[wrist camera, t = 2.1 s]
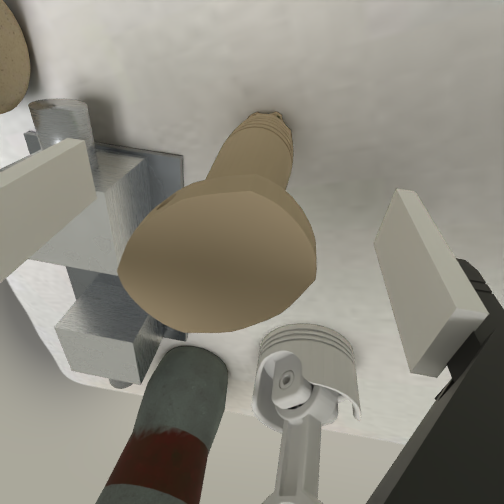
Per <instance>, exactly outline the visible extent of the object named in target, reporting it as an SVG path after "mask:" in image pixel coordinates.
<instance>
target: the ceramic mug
mask: <svg viewBox="0 0 504 504" xmlns="http://www.w3.org/2000/svg"><path fill="white" fill-rule="evenodd" d="M29 79H30V60H29V53H28V48H27V44H26V41H25V39H24V36H23V33H22V30H21V28H20V26H19V24H18V23H17V21H16V19H15V17H14V15H13V13H12V12H11V11H10V9H9V8H8V6H7V5H6V4H5V2H4V1H3V0H0V114H3V113H6V112H8V111H11V110H12V109H14V108H15V107H17V105H18V104H19V103H20V102H21V101H22V99H23V98H24V96H25V94H26V91H27V89H28V85H29Z"/></svg>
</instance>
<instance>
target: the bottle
mask: <svg viewBox="0 0 504 504" xmlns="http://www.w3.org/2000/svg"><path fill="white" fill-rule="evenodd" d="M227 384H228V376H227V369H226V366H225V364H224V363H223V362H222V361H221V359H220V358H219V357H217V356H216V355H214V354H213V353H211V352H209V351H206V350H204V349H202V348H197V347H192V346H181V347H177V348H174V349H172V350H171V351H169V352H168V353H167V354H166V355H165V357H164V358H163V359H162V360H161V361H160V363H159V365H158V366H157V368H156V370H155V371H154V373H153V375H152V376H151V378H150V380H149V382H148V384H147V387H146V390H145V393H144V396H143V399H142V402H141V405H140V409H139V412H138V415H137V419H136V422H135V425H134V429H133V433H132V435H131V437H130V438H129V441H128V442H127V444H126V446H125V448H124V450H123V452H122V454H121V456H120V458H119V460H118V462H117V464H116V466H115V468H114V470H113V472H112V474H111V476H110V477H109V480H108V481H107V483H106V485H105V487H104V489H103V491H102V493H101V494H100V496H99V498H98V500H97V502H96V504H199V502H200V497H201V491H202V485H203V480H204V474H205V468H206V463H207V457H208V454H209V451H210V448H211V445H212V443H213V440H214V438H215V435H216V433H217V430H218V427H219V424H220V421H221V418H222V415H223V412H224V410H225V402H226V393H227Z"/></svg>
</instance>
